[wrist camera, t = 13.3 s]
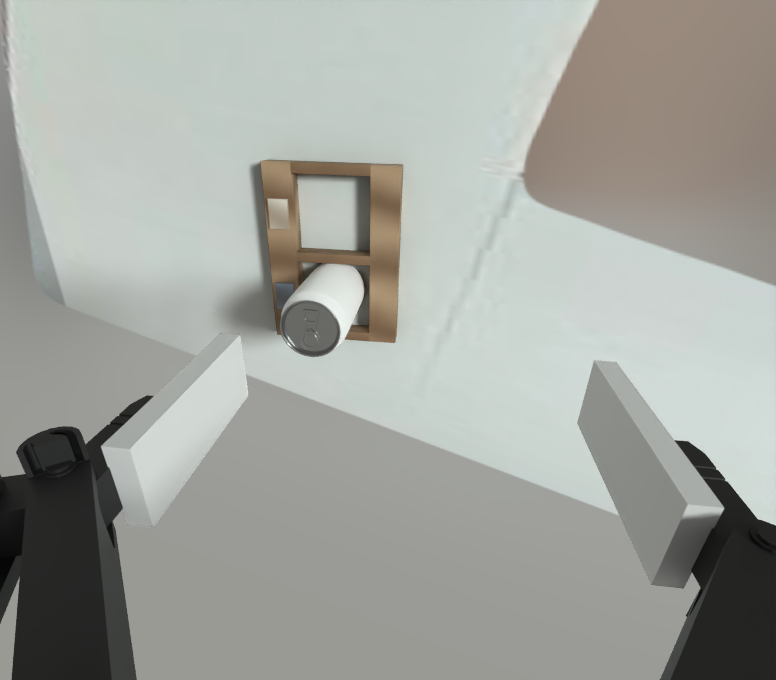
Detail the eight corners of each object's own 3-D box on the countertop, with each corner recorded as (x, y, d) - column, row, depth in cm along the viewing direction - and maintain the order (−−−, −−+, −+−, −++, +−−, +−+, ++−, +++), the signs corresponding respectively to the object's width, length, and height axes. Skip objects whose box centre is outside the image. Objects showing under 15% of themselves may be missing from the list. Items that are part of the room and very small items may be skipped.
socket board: (267, 159, 45) (258, 161, 43) (403, 164, 44) (401, 166, 42) (282, 327, 53) (275, 335, 51) (396, 335, 52) (394, 344, 50)
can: (310, 309, 52) (276, 356, 41) (310, 256, 49) (273, 292, 38) (364, 315, 51) (343, 365, 41) (366, 262, 49) (346, 300, 38)
